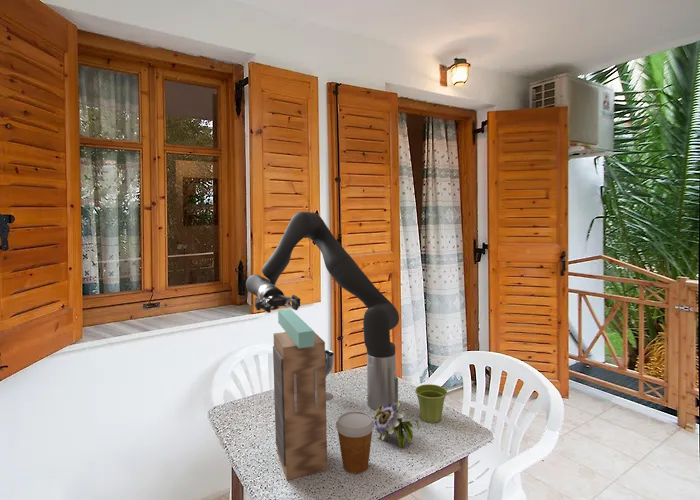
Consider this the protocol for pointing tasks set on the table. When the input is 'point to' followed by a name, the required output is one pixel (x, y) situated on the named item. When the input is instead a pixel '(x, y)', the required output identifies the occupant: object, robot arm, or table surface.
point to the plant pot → (431, 401)
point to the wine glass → (328, 368)
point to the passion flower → (393, 423)
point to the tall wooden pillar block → (300, 406)
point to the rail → (296, 328)
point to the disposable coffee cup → (355, 440)
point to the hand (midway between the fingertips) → (283, 308)
